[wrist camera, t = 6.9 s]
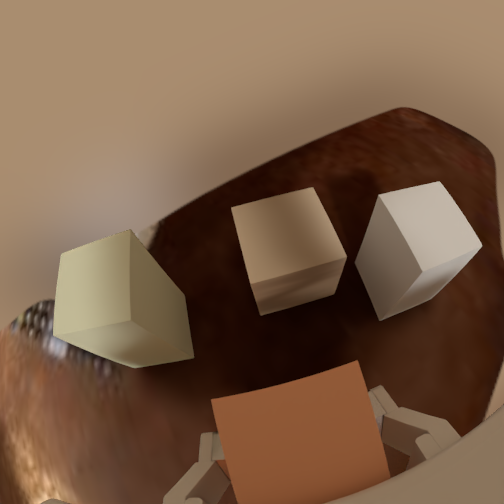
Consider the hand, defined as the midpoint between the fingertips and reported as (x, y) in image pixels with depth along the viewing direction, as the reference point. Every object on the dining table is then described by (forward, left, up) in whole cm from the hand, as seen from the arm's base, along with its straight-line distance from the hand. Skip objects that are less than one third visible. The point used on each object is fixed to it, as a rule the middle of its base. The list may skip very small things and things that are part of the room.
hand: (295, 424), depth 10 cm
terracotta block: (0, -1, -4) cm, 4 cm away
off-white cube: (+2, +9, -5) cm, 11 cm away
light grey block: (+9, +6, -5) cm, 12 cm away
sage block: (-7, +7, -5) cm, 12 cm away
